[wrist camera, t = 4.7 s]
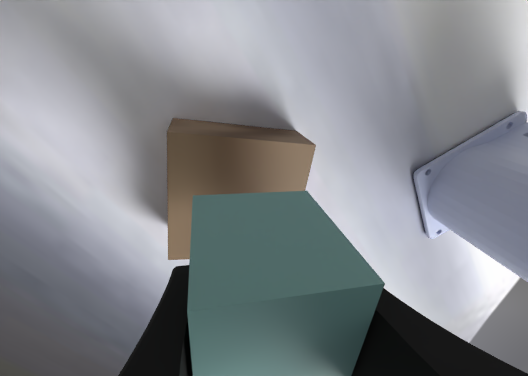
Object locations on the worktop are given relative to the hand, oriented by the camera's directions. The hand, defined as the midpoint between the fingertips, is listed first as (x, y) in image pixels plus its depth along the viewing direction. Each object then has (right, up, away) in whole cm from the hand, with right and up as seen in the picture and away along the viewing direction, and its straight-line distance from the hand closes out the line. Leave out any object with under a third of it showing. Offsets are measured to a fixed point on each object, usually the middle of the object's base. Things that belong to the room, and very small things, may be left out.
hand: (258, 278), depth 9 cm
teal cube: (0, +1, +1) cm, 2 cm away
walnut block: (-2, +4, +8) cm, 9 cm away
